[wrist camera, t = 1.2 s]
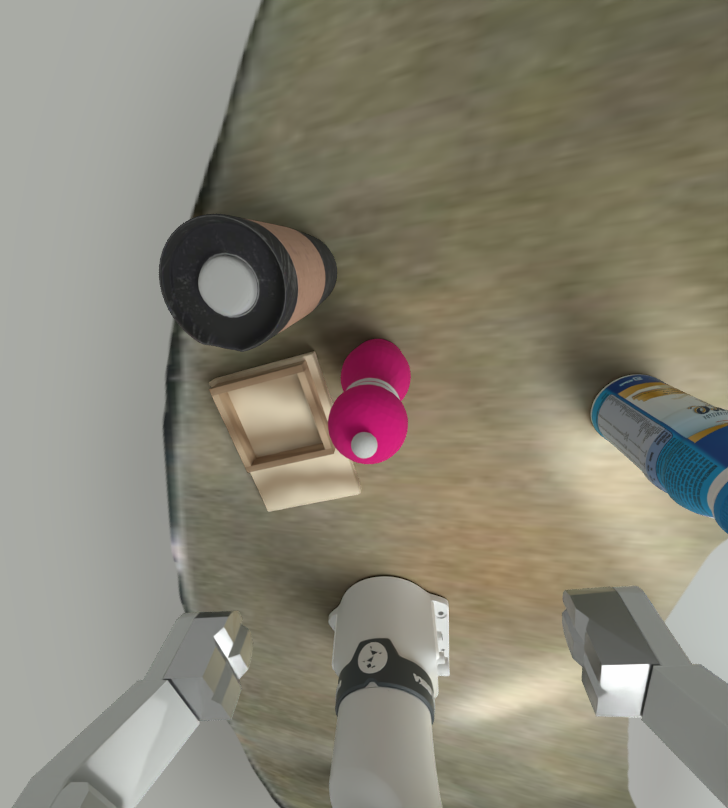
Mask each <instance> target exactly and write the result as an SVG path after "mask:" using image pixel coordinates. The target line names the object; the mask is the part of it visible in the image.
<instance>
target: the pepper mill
mask: <svg viewBox="0 0 728 808" xmlns="http://www.w3.org/2000/svg"><path fill="white" fill-rule="evenodd" d="M410 378H411V375H410V368H409V365H408V362H407V360H406V359H405V357H404V356H403V354H402V353H401V351H400V349H399V348H398V347H397V346H396V345H394V344H393V343H391V342H389V341H387V340H384V339H371V340H368V341H365V342H364V343H362V344H360V345H359V346H358V347H357V348H355V349H354V350H353V351H352V352H351V353H350V354H349V355H348V356H347V358H346V359H345V361H344V364H343V367H342V371H341V385H342V388H343V391H344V392H343V393H342V394H341V395H340V396H339V397H338V398H337V399H336V401H335V402H334V404H333V406H332V407H331V410H330V413H329V417H328V431H329V436H330V438H331V441H332V443H333V445H334V446H335V448H336V449H337V450H338V451H339V452H340V454H342V455H343V456H345V457H346V458H348V459H350V460H352V461H354V462H357V463H362V464H375V463H380V462H382V461H385V460H387V459H388V458H390V457H392V456H393V455H394V454H395V453H396V452H397V451H398V450H399V449H400V447H401V446H402V444H403V442H404V440H405V438H406V434H407V428H408V418H407V414H406V411H405V408H404V406H403V404H402V402H401V401H402V399H403V398H404V397H405V395H406V393H407V391H408V388H409V385H410Z"/></svg>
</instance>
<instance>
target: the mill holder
mask: <svg viewBox="0 0 728 808" xmlns="http://www.w3.org/2000/svg"><path fill="white" fill-rule="evenodd" d="M209 384H210V386H211V388H210V389H209V391H210V393H211V395H212V397H213V399H214V401H215V404H216V406H217V408H218V410H219V412H220V414H221V417H222V419H223V421H224V423H225V425H226V427H227V429H228V432H229V434H230V436H231V438H232V440H233V442H234V445H235V447H236V449H237V451H238V453H239V455H240V457H241V460H242V462H243V464H244V466H245V468H246V470H247V473H249V472H250V473H251V475H252V477H253V479H254V482H255V484H256V486H257V488H258V490H259V492H260V495H261V497H262V499H263V501H264V503H265V506H266V508H267V510H268V512H270V511H275V510H280V509H285V508H290V507H295V506H300V505H305V504H311V503H316V502H321V501H326V500H331V499H336V498H341V497H346V496H351V495H357V494H361V484H360V481H359V478H358V475H357V472H356V469H355V467H354V464H353V461H352V460H350V459H348V458H346V457H345V456H343V455H342V454H340V452H339V451H338V450H337V449H336V448H335V446H334V445H333V443H332V441H331V438H330V436H329V431H328V417H329V413H330V410H331V407H332V406H333V402H332V399H331V397H330V394H329V391H328V388H327V385H326V382H325V379H324V376H323V373H322V370H321V367H320V365H319V362H318V359H317V356H316V353H315V351H313V352H309V353H306V354H302V355H298V356H295V357H291V358H287V359H284V360H280V361H276V362H273V363H269V364H266V365H262V366H258V367H255V368H251V369H247V370H244V371H240V372H236V373H233V374H229V375H225V376H222V377H218V378H215V379H213V380H212V381H210V382H209Z"/></svg>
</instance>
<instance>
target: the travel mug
mask: <svg viewBox="0 0 728 808" xmlns="http://www.w3.org/2000/svg"><path fill="white" fill-rule="evenodd" d="M336 279H337V267H336V262H335V259H334V257H333V255H332V253H331V251H330V250H329V248H328V247H327V246H326V245H325V244H324V243H323V242H321V241H320V240H318V239H317V238H315V237H312V236H310V235H308V234H305V233H302V232H300V231H297V230H294V229H291V228H288V227H284V226H279V225H274V224H269V223H264V222H259V221H254V220H250V219H245V218H240V217H235V216H230V215H223V214H207V215H202V216H198V217H195V218H192V219H190V220H188V221H186V222H185V223H183V224H182V225H180V226H179V227H178V228H177V229H176V230H175V231H174V232H173V233H172V234H171V236H170V237H169V239H168V240H167V242H166V244H165V246H164V248H163V251H162V255H161V258H160V264H159V280H160V287H161V292H162V295H163V298H164V301H165V303H166V305H167V307H168V310H169V311H170V313H171V315H172V316H173V318H174V319H175V320H176V322H177V323H178V324H179V325H180V326H181V328H182V329H183V330H184V331H185V332H186V333H188V334H189V335H190V336H191V337H192V338H194V339H195V340H196V341H198V342H199V343H201V344H204V345H211V346H217V347H221V348H226V349H232V350H237V351H240V352H243V351H247V350H250V349H252V348H255V347H257V346H259V345H261V344H262V343H264V342H266V341H267V340H269V339H270V338H272V337H273V336H275V335H277V334H278V333H280V332H281V331H283V330H284V329H286V328H288V327H289V326H291V325H292V324H294V323H295V322H297V321H299V320H300V319H302V318H303V317H305V316H306V315H308V314H309V313H310V312H312V311H313V310H314V309H315V308H316V307H317V306H318V305H320V304H321V303H322V302H323V301H324V300H325V299H326V298H327V297H328V296H329V295H330V293H331V292H332V290H333V288H334V286H335V283H336Z"/></svg>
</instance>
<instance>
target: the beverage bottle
mask: <svg viewBox="0 0 728 808" xmlns="http://www.w3.org/2000/svg"><path fill="white" fill-rule="evenodd" d="M591 421H592V424H593V426H594V428H595V429H596V431H597V432H598V433H599V434H600V435H601V436H602V437H604V438H605V439H606V440H608V441H609V442H610V443H611V444H613V445H614V446H615V447H616V448H617V449H618V450H619V451H621V452H622V453H623V454H624V455H625V456H626V457H627V458H628V459H629V460H631V461H632V462H633V463H634V464H635V465H636V466H637V467H638V468H639V469H641V470H642V472H643V473H644V475H645V476H646V477H647V479H648V480H649V481H650V482H651V483H653V484H654V485H655V486H656V487H658V488H659V489H661V490H663V491H664V492H666V493H668V494H669V496H670V497H671V498H672V499H673V500H674V501H675V502H676V503H678V504H679V505H681V506H682V507H684V508H686V509H688V510H690V511H692V512H695V513H697V514H700V515H703V516H706V517H710V518H714V519H715V520H716V522H717V523H718V525H719V526H720V527H721V528H722V529H723V530H724V531H725V532H726V533H728V410H725V409H722V408H717V407H715V406H712V405H710V404H708V403H706V402H704V401H702V400H700V399H697V398H695V397H693V396H691V395H689V394H687V393H685V392H683V391H680V390H678V389H676V388H674V387H672V386H670V385H668V384H666V383H664V382H663V381H661V380H659V379H657V378H654V377H652V376H648V375H642V374H635V375H628V376H624V377H621V378H618V379H616V380H614V381H612V382H611V383H609V384H608V385H607V386H605V387H604V388H603V389H602V390H601V391H600V392H599V394H598V395H597V396H596V398H595V400H594V402H593V404H592V408H591Z"/></svg>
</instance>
